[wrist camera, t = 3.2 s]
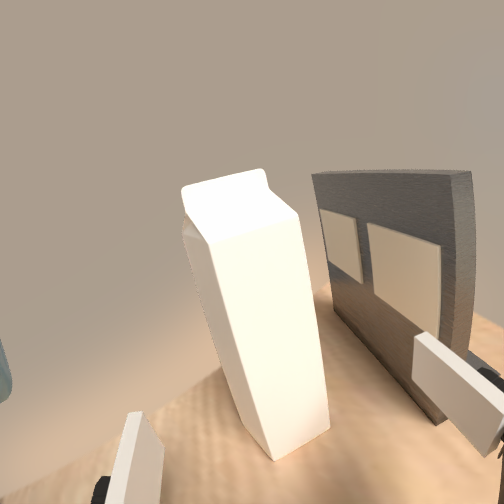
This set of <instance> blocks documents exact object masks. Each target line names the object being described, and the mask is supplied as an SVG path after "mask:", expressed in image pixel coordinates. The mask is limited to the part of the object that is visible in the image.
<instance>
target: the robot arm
mask: <svg viewBox="0 0 504 504" xmlns="http://www.w3.org/2000/svg"><path fill="white" fill-rule="evenodd" d="M412 380H413V381H414V382H415V383H416V384H417V385H418V386H419V387H420V388H421V389H422V391H423V392H424V393H425V394H426V395H427V396H428V397H429V398H430V399H431V400H432V401H433V402H434V403H435V404H436V406H437V407H438V408H439V409H440V410H441V411H442V412H443V413H444V414H445V415H446V416H447V417H448V419H449V420H450V421H451V422H452V423H453V424H454V425H455V426H456V427H457V428H458V430H459V431H460V432H461V433H462V434H463V435H464V436H465V437H466V438H467V439H468V441H469V442H470V443H471V444H472V445H473V446H474V447H475V448H476V450H477V451H478V452H479V453H480V454H481V455H482V456H483V457H484V458H485V457H486V456H487V455H489V454H490V453H491V452H492V451H494V450H495V449H496V448H497V446H498V445H499V443H500V441H501V440H502V441H503V442H504V380H503V379H502V378H501V377H500V378H499V376H498V375H497V374H496V373H494V372H493V371H492V370H489V369H486V368H483V367H481V368H479V369H478V370H475V369H474V368H472V367H471V366H470V365H469V364H468V363H466V362H465V361H464V360H463V359H461V358H460V357H459V356H457V355H456V354H455V353H454V352H452V351H451V350H450V349H449V348H447V347H446V346H445V345H444V344H442V343H441V342H440V341H438V340H437V339H436V338H435V337H433V336H432V335H431V334H429V333H428V332H427V331H425V332H423V333H421V334H419V335H417V336H414V351H413V366H412ZM11 391H12V377H11V373H10V369H9V365H8V362H7V359H6V355H5V352H4V349H3V346H2V343H1V340H0V403H2V402H3V401H5V400H6V399H7V398H8V397H9V395H10V394H11ZM502 453H503V458H502V473H501V484H500V492H499V500H498V504H504V445H503V447H502V449H501V451H500V453H499V454H498V458H497V459H499V458H500V457H501V455H502ZM164 454H165V447H164V445H163V444H162V442H161V441H160V439H159V437H158V436H157V434H156V433H155V431H154V429H153V428H152V426H151V424H150V423H149V421H148V419H147V418H146V416H145V414H144V413H143V411H139V412H131V413H128V415H127V419H126V422H125V426H124V429H123V433H122V437H121V440H120V444H119V448H118V451H117V455H116V459H115V463H114V467H113V471H112V475H111V476H102V477H101V478H100V479H99V481H98V482H97V483H96V485H95V488H94V492H93V496H92V500H91V504H160V493H161V482H162V472H163V463H164Z"/></svg>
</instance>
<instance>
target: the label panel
mask: <svg viewBox="0 0 504 504" xmlns="http://www.w3.org/2000/svg"><path fill="white" fill-rule="evenodd" d="M312 180H313V185H314V190H315V195H316V200H317V205H318V211H319V216H320V222H321V227H322V233H323V239H324V245H325V251H326V257H327V263H328V270H329V277H330V284H331V291H332V298H333V306H334V311H335V312H336V313H337V315H338V316H339V317H340V318H341V319H342V320H343V321H344V322H345V323H346V324H347V326H348V327H349V328H350V329H351V330H352V331H353V332H354V333H355V334H356V336H357V337H358V338H359V339H360V340H361V341H362V342H363V343H364V344H365V346H366V347H367V348H368V349H369V350H370V351H371V352H372V353H373V355H374V356H375V357H376V358H377V359H378V360H379V361H380V362H381V364H382V365H383V366H384V367H385V368H386V369H387V370H388V371H389V373H390V374H391V375H392V376H393V377H394V378H395V379H396V381H397V382H398V383H399V384H400V385H401V386H402V387H403V389H404V390H405V391H406V392H407V393H408V394H409V395H410V397H411V398H412V399H413V400H414V401H415V402H416V403H417V405H418V406H419V407H420V408H421V409H422V410H423V412H424V413H425V414H426V415H427V416H428V417H429V418H430V420H431V421H432V422H433V423H434V424H435V425H436V426H437V425H439V424H440V423H442V422H444V421H445V420H447V419H448V417H447V416H446V415H445V414H444V413H443V412H442V411H441V410H440V409H439V408H438V407H437V406H436V404H435V403H434V402H433V401H432V400H431V399H430V398H429V397H428V396H427V395H426V394H425V393H424V392H423V391H422V389H421V388H420V387H419V386H418V385H417V384H416V383H415V382H414V381H413V380H412V366H413V351H414V336H417V335H419V334H421V333H423V332H425V331H427V332H428V333H429V334H431V335H432V336H433V337H435V338H436V339H437V340H438V341H440V342H441V343H442V344H444V345H445V346H446V347H447V348H449V349H450V350H451V351H452V352H454V353H455V354H456V355H457V356H459V357H460V358H461V359H463V360H464V361H465V362H466V363H468V364H469V365H470V366H471V367H472V368H474V369H475V370H478V369H479V368H481V367H483V368H486V369H489V370H492V371H493V372H494V373H496V374H497V375H498V376H499V378H500V375H501V374H500V373H498V372H497V371H496V370H495V369H493V368H492V367H491V366H489V365H488V364H487V363H485V362H484V361H483V360H481V359H480V358H479V357H477V356H476V355H475V354H473V353H472V352H471V351H469V350H468V346H469V340H470V333H471V325H472V316H473V305H474V293H475V274H476V226H475V225H476V224H475V206H474V194H473V183H472V174H471V171H458V170H353V171H329V172H321V173H316V174H312Z"/></svg>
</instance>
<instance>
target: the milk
mask: <svg viewBox="0 0 504 504" xmlns="http://www.w3.org/2000/svg"><path fill="white" fill-rule="evenodd" d="M181 196H182V200H183V204H184V208H185V217H184V223H183V228H182V238H183V241H184V245H185V249H186V252H187V256H188V260H189V263H190V267H191V270H192V274H193V277H194V281H195V283H196V287H197V290H198V294H199V297H200V301H201V304H202V307H203V310H204V313H205V316H206V320H207V323H208V326H209V329H210V332H211V335H212V339H213V342H214V345H215V348H216V351H217V354H218V356H219V359H220V362H221V365H222V368H223V371H224V374H225V377H226V380H227V383H228V385H229V388H230V391H231V394H232V397H233V399H234V402H235V405H236V407H237V410H238V413H239V416H240V418H241V421H242V423H243V425H244V427H245V428H246V429H247V430H248V432H249V433H250V434H251V435H252V437H253V438H254V439H255V440H256V442H257V443H258V444H259V445H260V446H261V448H262V449H263V450H264V451H265V452H266V453H267V455H268V456H269V457H270V458H271V459H272V460H273V461H277V460H278V459H280V458H282V457H284V456H286V455H287V454H289V453H291V452H292V451H294V450H296V449H298V448H299V447H301V446H303V445H304V444H306V443H308V442H309V441H311V440H312V439H314V438H316V437H317V436H319V435H320V434H322V433H323V432H325V431H326V430H328V429H329V428H330V418H329V409H328V400H327V392H326V384H325V376H324V368H323V361H322V353H321V346H320V339H319V333H318V326H317V319H316V313H315V307H314V300H313V294H312V288H311V282H310V277H309V271H308V265H307V259H306V254H305V248H304V243H303V238H302V232H301V227H300V222H299V217H298V214H297V213H296V212H295V211H294V210H293V209H291V208H290V207H289V206H288V205H287V204H286V203H284V202H283V201H282V200H281V199H280V198H279V197H277V196H276V195H275V194H274V193H273V192H271V191H270V190H269V188H268V183H267V179H266V174H265V172H264V171H263V170H262V169H256V170H251V171H246V172H242V173H237V174H233V175H229V176H225V177H220V178H216V179H212V180H208V181H204V182H200V183H196V184H193V185H188V186H185V187H183V188H182V190H181Z"/></svg>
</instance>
